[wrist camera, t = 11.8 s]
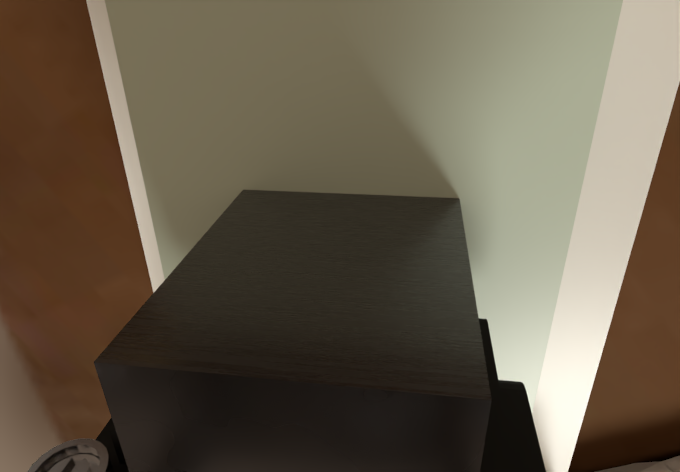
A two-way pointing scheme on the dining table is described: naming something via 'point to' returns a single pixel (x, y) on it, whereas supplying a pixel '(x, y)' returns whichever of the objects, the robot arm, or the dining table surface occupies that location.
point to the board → (379, 122)
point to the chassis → (591, 217)
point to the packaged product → (649, 466)
